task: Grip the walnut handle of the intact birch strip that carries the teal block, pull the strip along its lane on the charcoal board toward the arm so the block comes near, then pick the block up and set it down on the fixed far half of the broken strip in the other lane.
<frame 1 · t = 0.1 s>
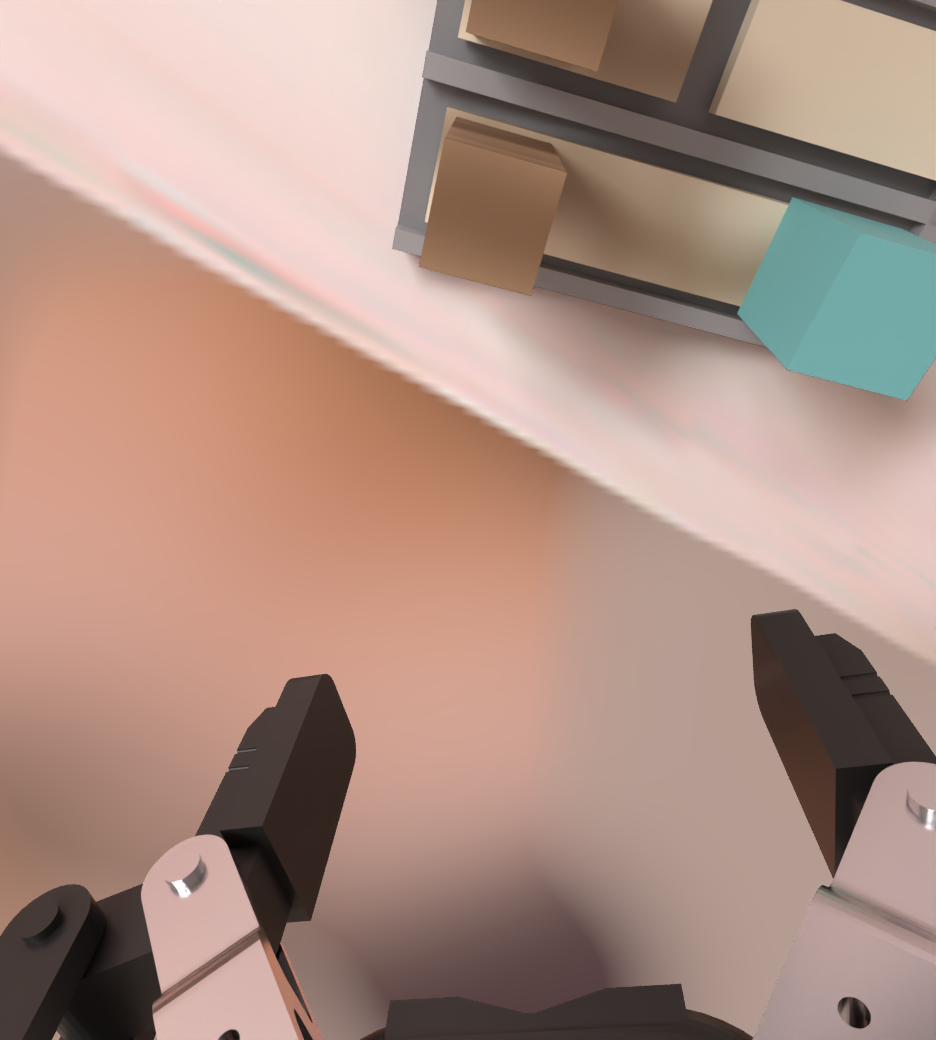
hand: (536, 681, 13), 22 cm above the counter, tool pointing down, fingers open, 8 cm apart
teal cube: (816, 272, 28), point 2 cm above the counter, touching cube strip
lane board: (688, 139, 27), on the counter
cube strip: (686, 250, 25), point 5 cm above the counter, slide at 0.0 cm, touching teal cube
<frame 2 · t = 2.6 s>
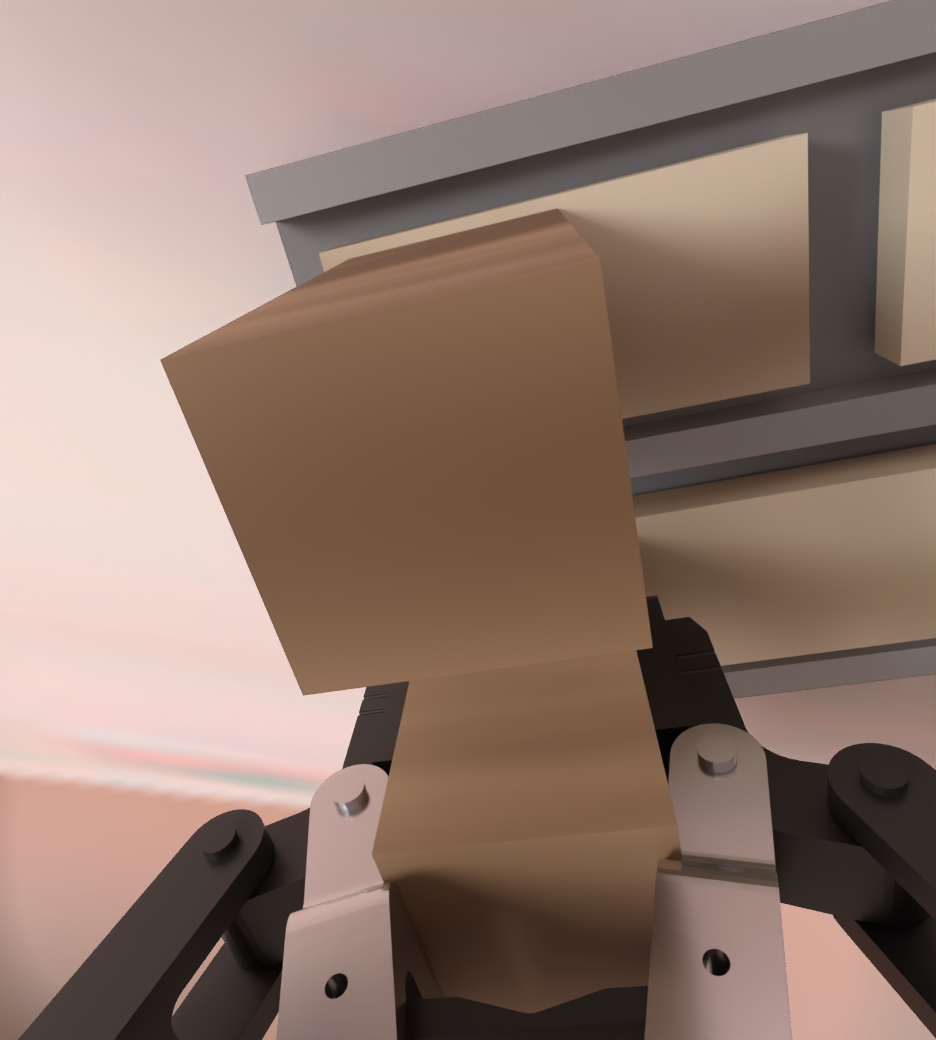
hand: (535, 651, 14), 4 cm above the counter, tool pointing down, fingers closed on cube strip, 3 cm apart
short strip: (581, 362, 9), point 5 cm above the counter, slide at 0.0 cm
lane board: (844, 386, 15), on the counter
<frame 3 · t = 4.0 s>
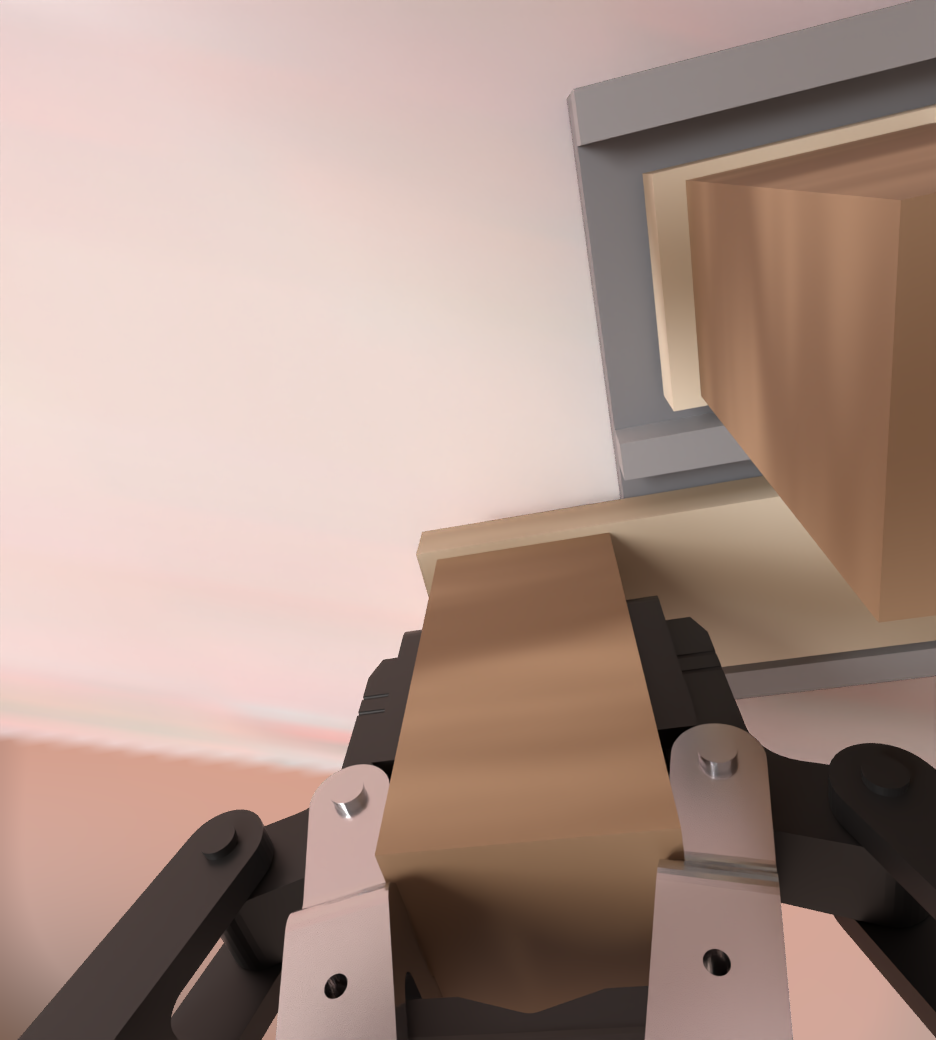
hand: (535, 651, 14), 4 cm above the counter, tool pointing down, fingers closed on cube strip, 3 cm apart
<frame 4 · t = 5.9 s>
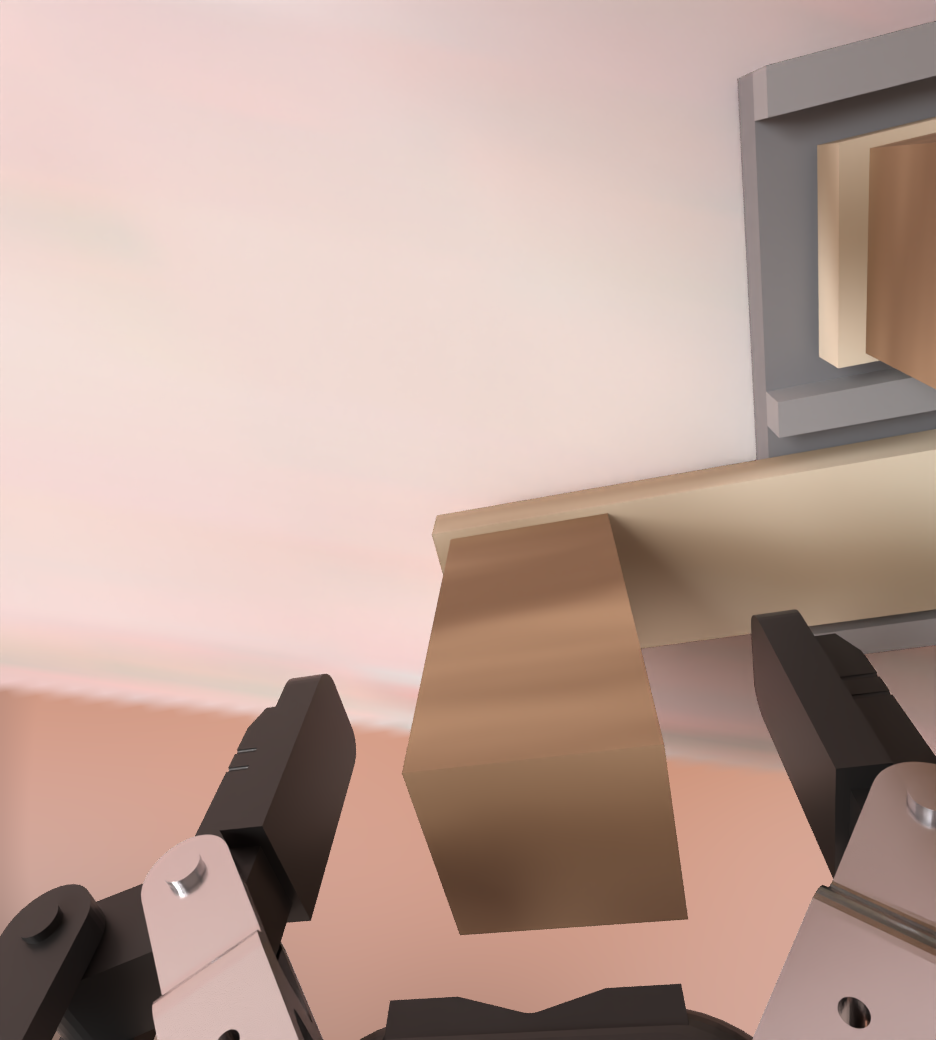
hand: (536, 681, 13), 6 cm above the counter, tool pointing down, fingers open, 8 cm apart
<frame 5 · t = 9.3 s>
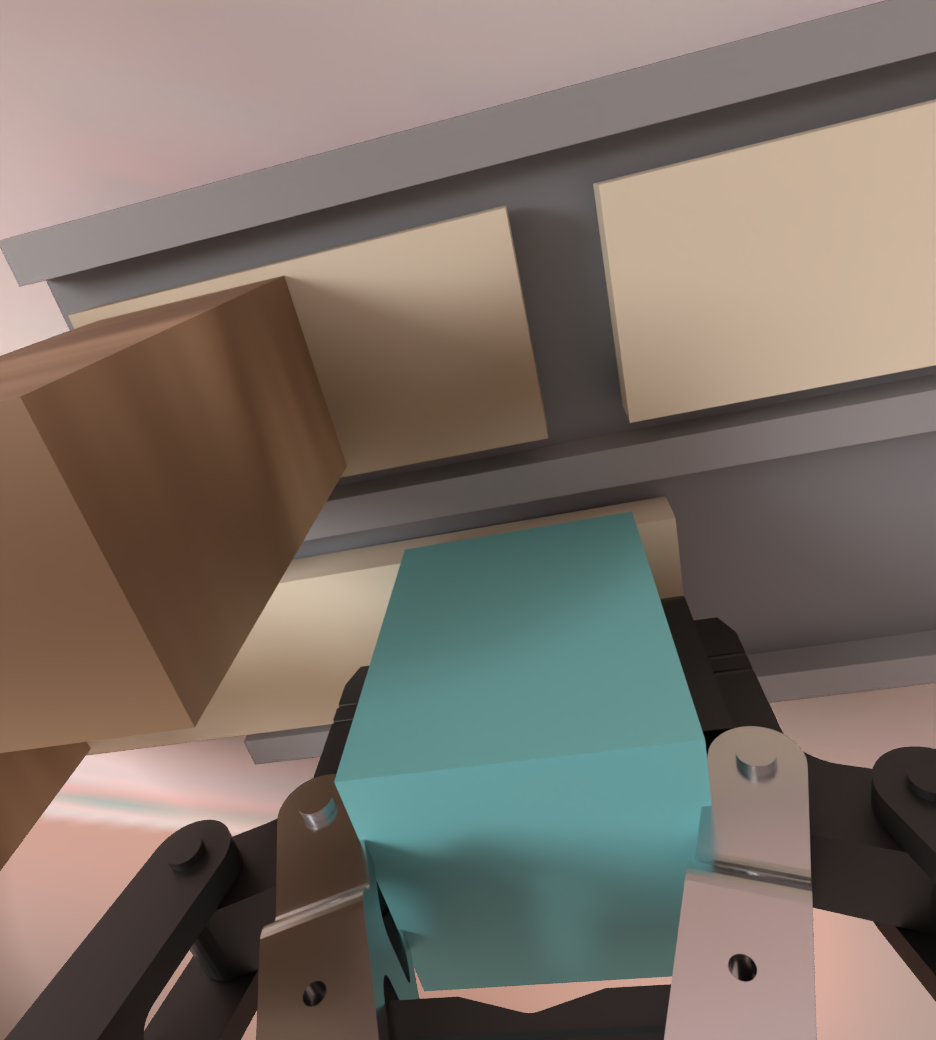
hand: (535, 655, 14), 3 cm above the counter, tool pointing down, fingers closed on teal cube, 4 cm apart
short strip: (256, 434, 10), point 5 cm above the counter, slide at 0.0 cm
teal cube: (536, 624, 15), point 2 cm above the counter, touching cube strip, gripper
lane board: (621, 433, 15), on the counter
cube strip: (210, 765, 13), point 5 cm above the counter, slide at 8.8 cm, touching teal cube
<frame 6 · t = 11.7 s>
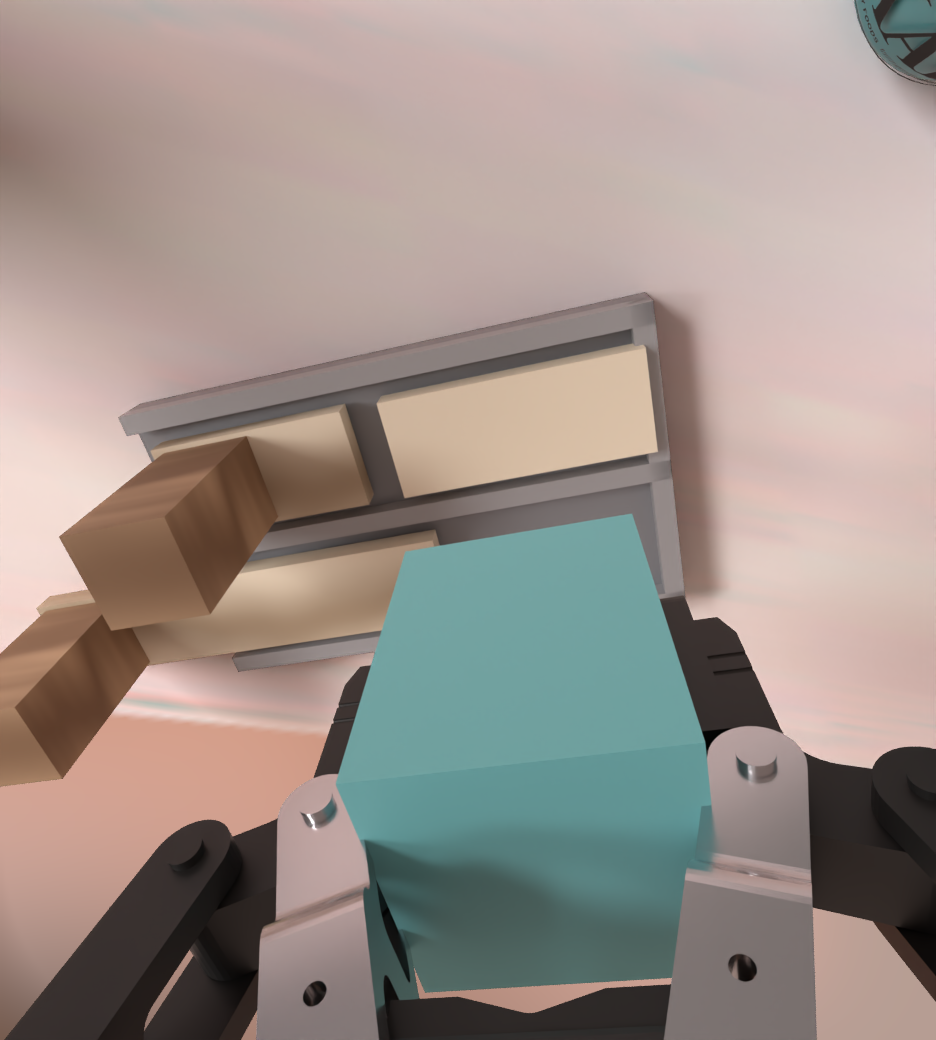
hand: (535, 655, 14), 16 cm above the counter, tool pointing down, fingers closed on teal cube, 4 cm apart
short strip: (232, 511, 25), point 5 cm above the counter, slide at 0.0 cm
teal cube: (536, 626, 15), point 15 cm above the counter, touching gripper
lane board: (418, 496, 30), on the counter
cube strip: (214, 655, 28), point 5 cm above the counter, slide at 8.8 cm
when the fingers open (4 cm above the counter, at t = 14.2 s): teal cube stays where it is, resting on lane board.
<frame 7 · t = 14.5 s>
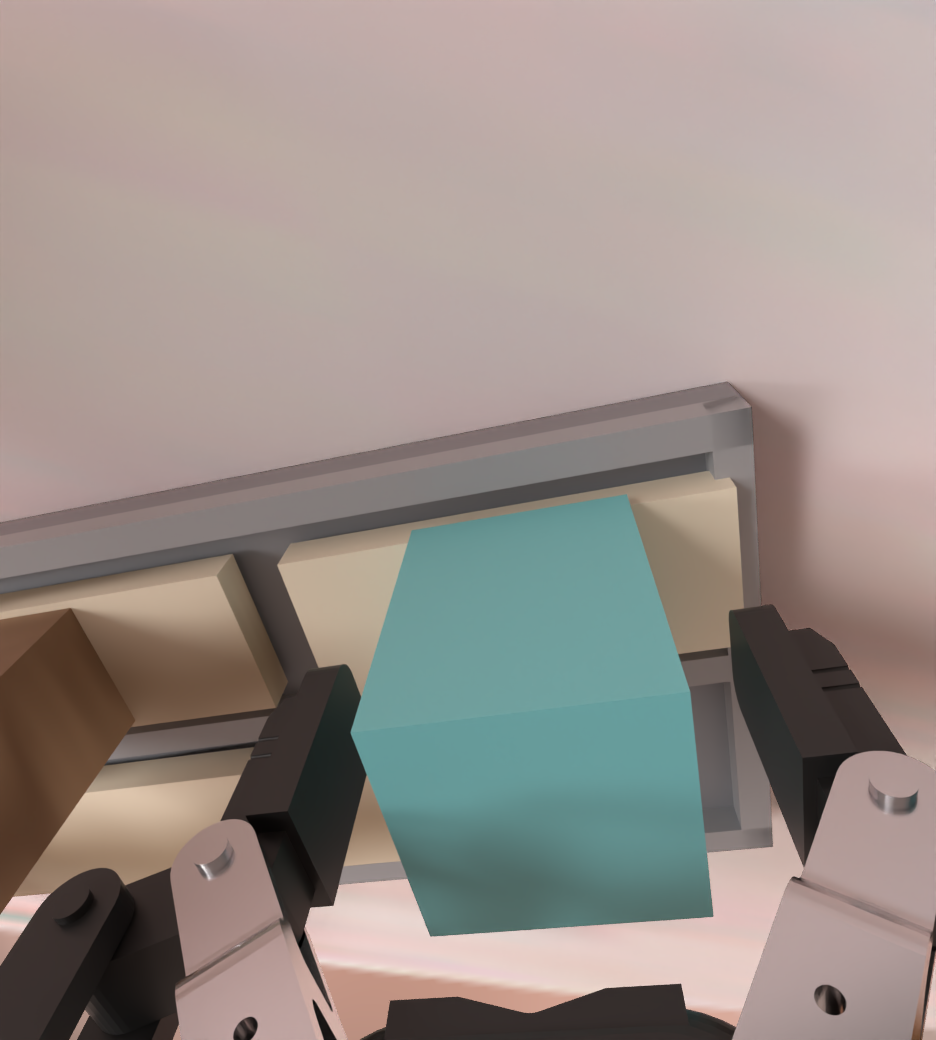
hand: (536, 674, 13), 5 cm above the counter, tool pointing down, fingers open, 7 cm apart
short strip: (24, 758, 15), point 5 cm above the counter, slide at 0.0 cm
teal cube: (535, 602, 16), point 2 cm above the counter, touching lane board
lane board: (362, 673, 20), on the counter
cube strip: (32, 944, 18), point 5 cm above the counter, slide at 8.8 cm
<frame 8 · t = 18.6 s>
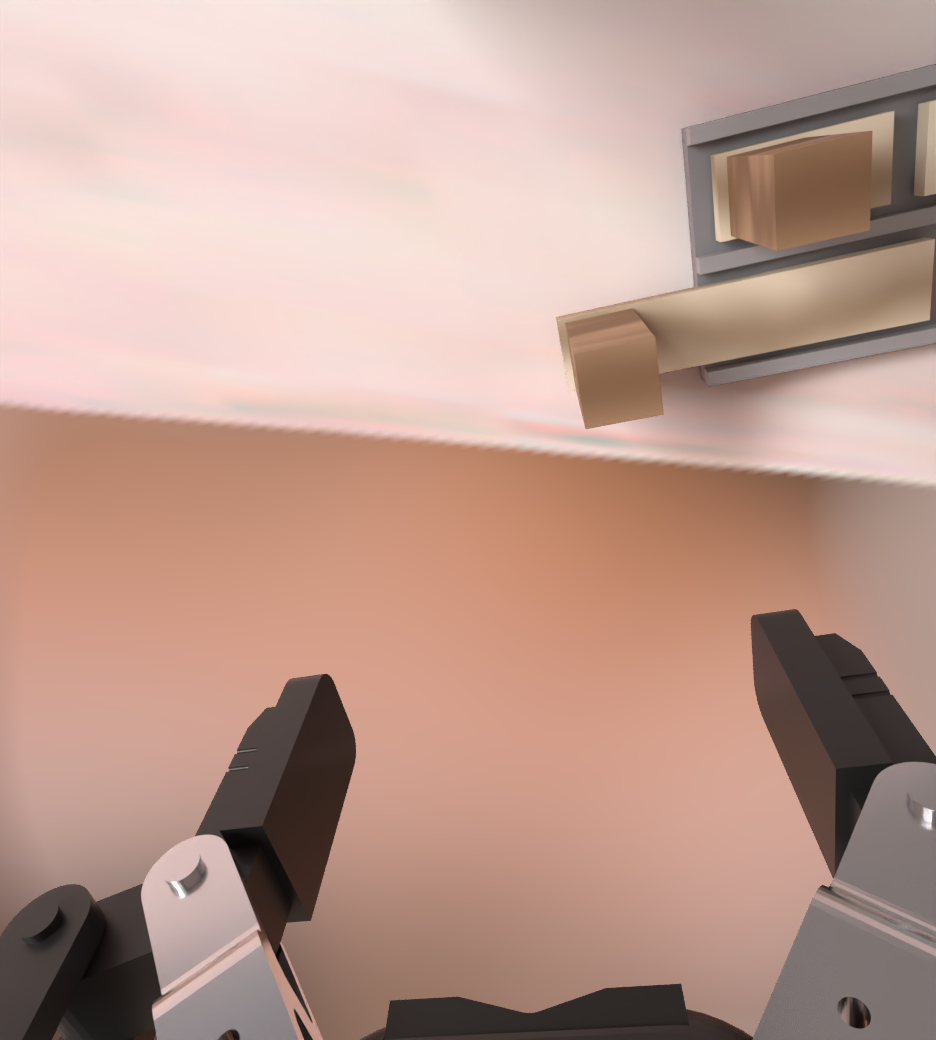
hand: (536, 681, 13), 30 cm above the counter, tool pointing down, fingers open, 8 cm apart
short strip: (828, 180, 31), point 5 cm above the counter, slide at 0.0 cm
lane board: (899, 216, 36), on the counter
cube strip: (757, 332, 34), point 5 cm above the counter, slide at 8.8 cm
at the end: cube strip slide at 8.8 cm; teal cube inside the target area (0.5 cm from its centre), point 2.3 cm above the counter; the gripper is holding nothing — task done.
